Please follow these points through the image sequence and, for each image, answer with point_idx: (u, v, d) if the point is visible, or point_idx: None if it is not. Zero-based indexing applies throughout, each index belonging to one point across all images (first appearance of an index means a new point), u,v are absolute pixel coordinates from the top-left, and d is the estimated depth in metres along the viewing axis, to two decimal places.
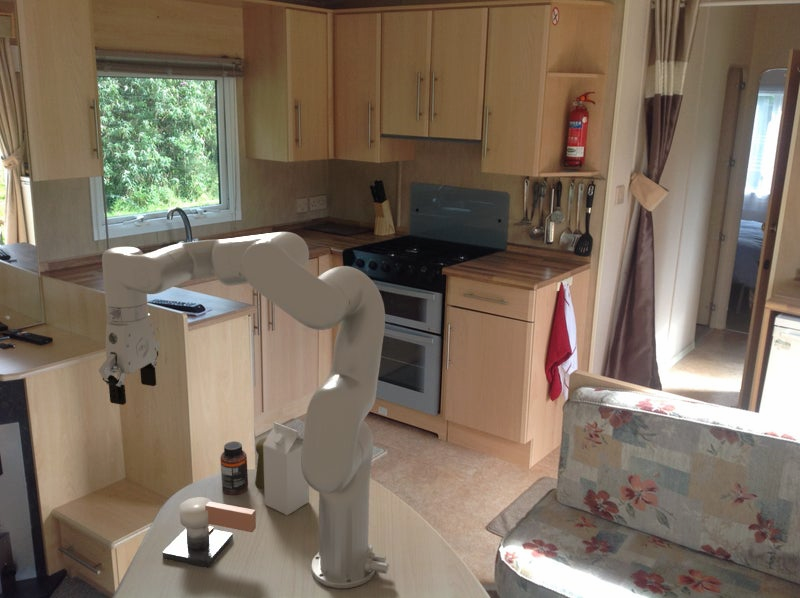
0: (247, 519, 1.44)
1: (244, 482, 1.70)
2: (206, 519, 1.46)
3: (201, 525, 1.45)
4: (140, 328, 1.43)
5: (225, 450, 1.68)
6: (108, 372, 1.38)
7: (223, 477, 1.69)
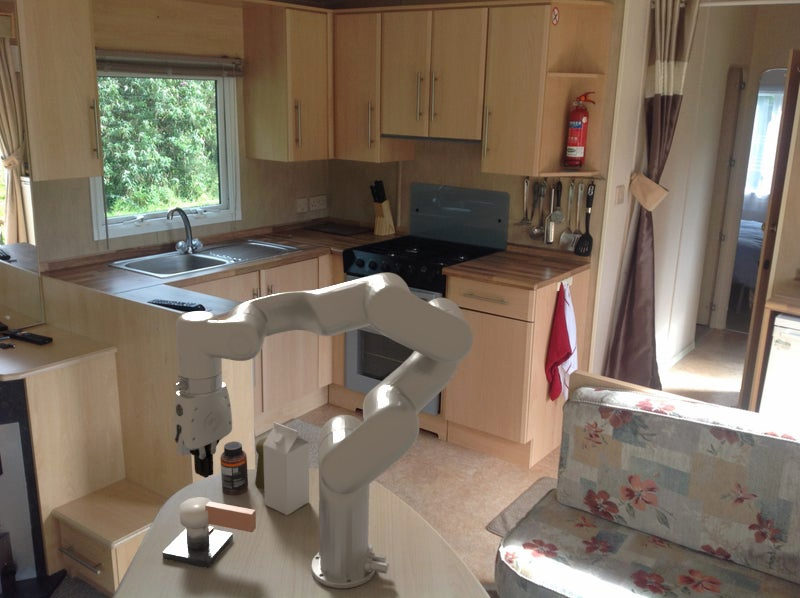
0: (247, 519, 1.44)
1: (244, 482, 1.70)
2: (206, 519, 1.46)
3: (201, 525, 1.45)
4: (211, 401, 1.31)
5: (225, 450, 1.68)
6: (186, 450, 1.31)
7: (223, 477, 1.69)
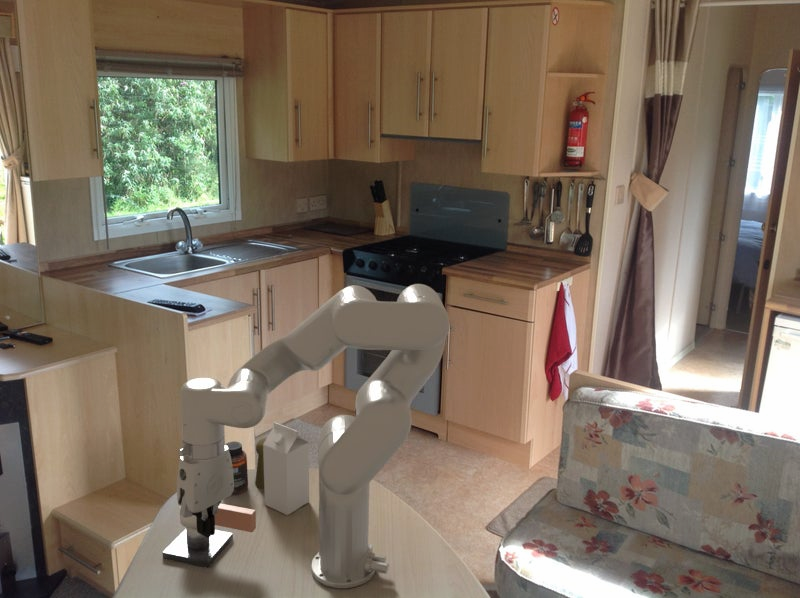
0: (247, 519, 1.44)
1: (244, 482, 1.70)
2: None
3: None
4: (214, 465, 1.34)
5: None
6: (189, 512, 1.34)
7: None
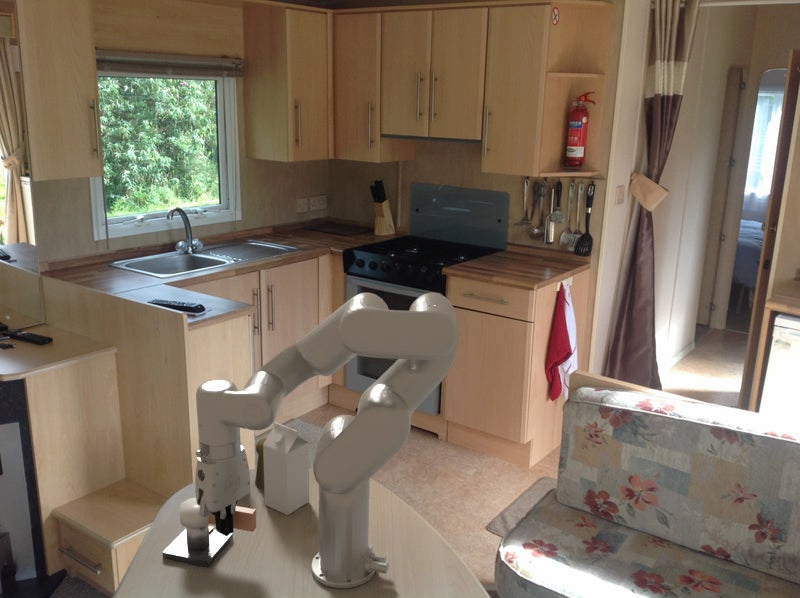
0: (248, 518, 1.44)
1: None
2: (206, 519, 1.46)
3: (201, 525, 1.45)
4: (231, 465, 1.37)
5: None
6: (208, 512, 1.38)
7: None
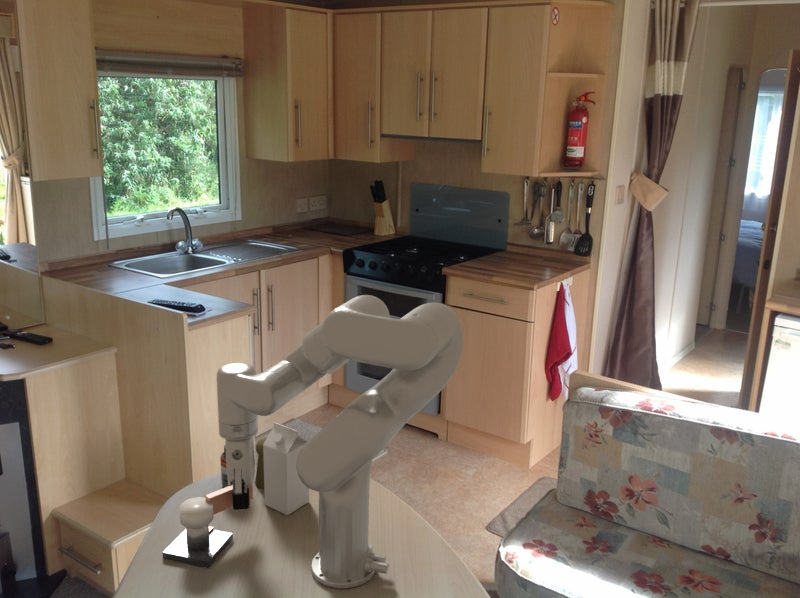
0: None
1: None
2: (213, 510, 1.49)
3: (212, 517, 1.48)
4: (253, 439, 1.47)
5: (225, 450, 1.68)
6: None
7: (223, 477, 1.69)
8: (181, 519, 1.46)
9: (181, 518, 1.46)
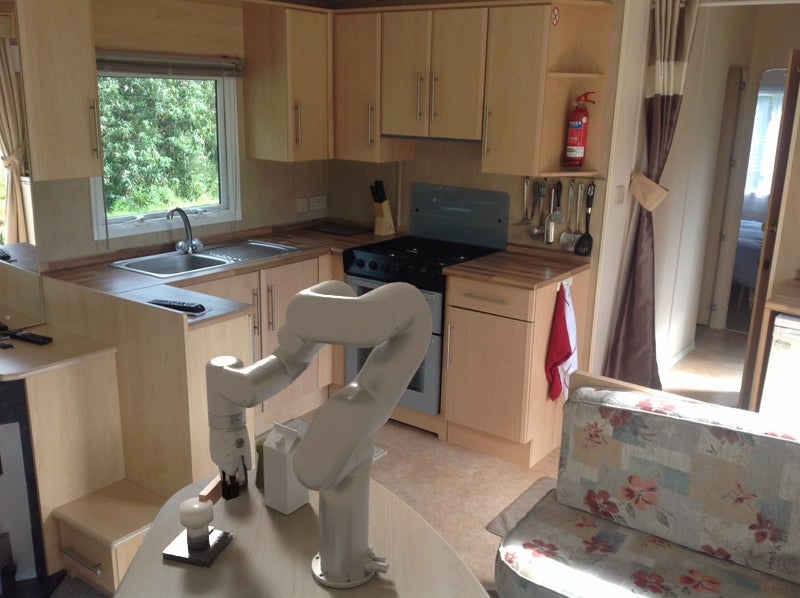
0: None
1: (244, 482, 1.70)
2: None
3: None
4: None
5: None
6: None
7: None
8: (187, 522, 1.45)
9: (187, 521, 1.45)
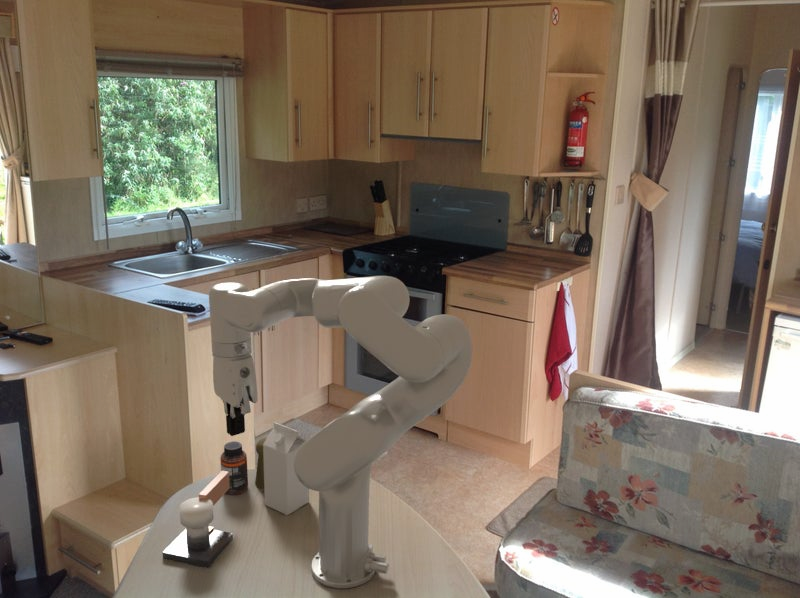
0: (227, 479, 1.58)
1: (244, 482, 1.70)
2: None
3: None
4: None
5: (225, 450, 1.68)
6: None
7: None
8: (187, 522, 1.45)
9: (187, 521, 1.45)
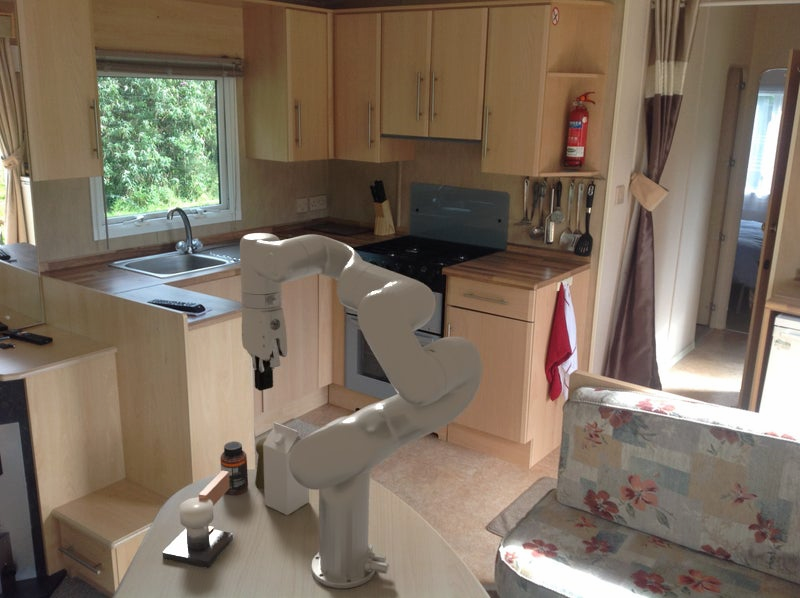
0: (227, 479, 1.58)
1: (244, 482, 1.70)
2: None
3: None
4: None
5: (225, 450, 1.68)
6: None
7: None
8: (187, 522, 1.45)
9: (187, 521, 1.45)
